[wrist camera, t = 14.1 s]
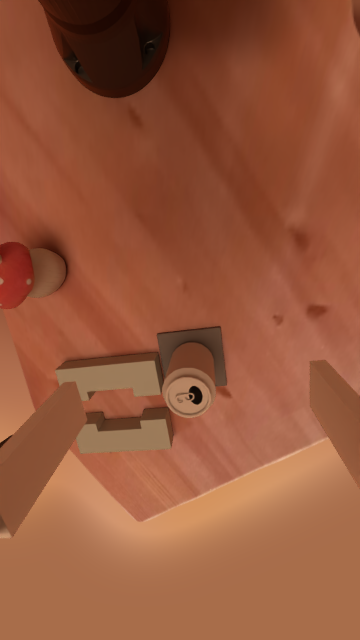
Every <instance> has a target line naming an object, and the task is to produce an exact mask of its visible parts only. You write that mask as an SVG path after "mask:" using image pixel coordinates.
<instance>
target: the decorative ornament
mask: <svg viewBox="0 0 360 640" xmlns="http://www.w3.org/2000/svg"><path fill="white" fill-rule="evenodd" d="M65 276H66V266H65V262H64V260H63V259H62V258H61V257H60V256H59V255H57V254H56V253H54V252H52V251H50V250H47V249H43V248H35V249H30V250H28V248H27V247H25V246H24V245H22V244H20V243H17V242H7V243H4V244H1V245H0V308H2V309H11V308H15V307H17V306H19V305H20V304H21V303H22V302H23V301H24V300H25V298H26V297H27V296H28V297H34V298H40V297H45V296H48V295H50V294H52V293H53V292H55V291H56V290H57V289H58V288H59V287H60V286H61V285H62V283H63V282H64V279H65Z"/></svg>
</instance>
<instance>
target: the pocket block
mask: <svg viewBox="0 0 360 640" xmlns="http://www.w3.org/2000/svg"><path fill="white" fill-rule="evenodd" d="M55 372H56V375H57V378H58V382H59V385H60V386H61V385H62V383H63V382H73V381H76V384H77V388H78V391H79V394H80V397H81V401H87V400H90V399H91V397H92V396H93V395H94V393H95V392H96V391H102V390H113V389H125V388H133V392H134V396H135V397H136V396H149V395H161V392H162V387H163V384H164V382H163V376H162V371H161V366H160V360H159V355H158V352H154V353H144V354H134V355H125V356H115V357H105V358H95V359H85V360H76V361H66V362H64V363H63V364H62V365H61V366H59V367H58V368H57V369H56V370H55ZM85 414H86V417H87V422H86V423H85V425H84V426H83V428H82V429H81V431H80V433H79V434H78V436H77V437H76V441H77V444H78V447H79V450H80V454H83V453H102V452H122V451H141V450H160V449H171V447H172V441H173V430H172V425H171V420H170V414H169V409H168V407H165V408H152V409H144V411H143V414H142V416H141V417H135V418H121V419H106V420H105V418H104V415H103V412H97V413H85Z"/></svg>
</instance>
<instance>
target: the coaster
mask: <svg viewBox="0 0 360 640" xmlns="http://www.w3.org/2000/svg"><path fill="white" fill-rule="evenodd" d="M157 339H158V344H159V350H160V355H161V360H162V366H163V371H164V377H166V374H167V370H168V367H169V364H170V360H171V357H172V354H173V352H174V351H175V349H176V348H178V347H179V346H180V345H182V344H185V343H194V342H195V343H198V344H202V345H203V346H205V347H206V348H208V350H209V351H210V352H211V354H212V356H213V359H214V372H215V386H226V385H227V382H226V373H225V364H224V355H223V346H222V338H221V329H220V327H211V328H202V329H193V330H184V331H175V332H166V333H157Z"/></svg>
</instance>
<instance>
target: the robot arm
mask: <svg viewBox="0 0 360 640" xmlns="http://www.w3.org/2000/svg"><path fill="white" fill-rule="evenodd" d="M38 1H39V2H40V3H41V5H42V6H43V8H44V11H45V14H46V18H47V21H48V24H49V27H50V30H51V33H52V36H53V39H54V42H55V45H56V47H57V50H58V52H59V54H60V56H61V57H62V59H63V61H64V63H65V64H66V65H67V67H68V68H69V69H70V71H71V72H72V73H73V75H74V76H75V77H76V78H77V79H78V81H79V82H80V83H81V84H82V85H84V86H85V87H86V88H87V89H89V90H90V91H92V92H94V93H96V94H98V95H101V96H105V97H111V98H118V97H125V96H128V95H131V94H133V93H135V92H137V91H139V90H140V89H142V88H143V87H144V86H145V85H147V84H148V83H149V82H150V80H151V79H152V78H153V77H154V76H155V74H156V73H157V71H158V69H159V68H160V66H161V64H162V62H163V59H164V57H165V54H166V51H167V47H168V42H169V35H170V15H169V8H168V2H167V0H38ZM310 407H311V409H312V411H313V412H314V414H315V416H316V417H317V419H318V421H319V422H320V424H321V426H322V427H323V429H324V431H325V432H326V434H327V436H328V437H329V439H330V440H331V442H332V444H333V445H334V447H335V449H336V450H337V452H338V454H339V455H340V457H341V459H342V460H343V462H344V463H345V465H346V467H347V469H348V470H349V472H350V474H351V475H352V477H353V479H354V480H355V482H356V484H357V485H358V487H359V489H360V396H359V395H358V394H357V393H356V392H355V391H354V390H353V389H352V388H351V387H350V386H349V384H348V383H347V382H346V381H345V380H344V379H343V378H342V377H341V376H340V375H339V374H338V373H337V372H336V371H335V370H334V369H333V368H332V366H331V365H330V364H329V363H328V362H327V361H326V360H319V361H310ZM86 422H87V417H86V414H85V410H84V407H83V404H82V401H81V397H80V394H79V391H78V388H77V384H76V381H73V382H63V383H62V385H61V386H60V387H59V388H58V389H57V390H56V391H55V392H54V393H53V394H52V395H51V396H50V397H49V398H48V399H47V400H46V401H45V402H44V403H43V404H42V405H41V406H40V407H39V408H38V409H37V411H36V412H35V413H34V414H33V415H32V416H31V417H30V418H29V419H28V420H27V421H26V422H25V423H24V424H23V425H22V426H21V427H20V428H19V429H18V430H17V432H15V433H14V434H13V435H11V436H10V437H8V438H7V439H5V440H4V441H2V442H1V443H0V538H12V537H13V536H14V534H15V533H16V531H17V530H18V528H19V526H20V525H21V523H22V522H23V520H24V519H25V517H26V516H27V514H28V512H29V511H30V509H31V508H32V506H33V505H34V503H35V501H36V500H37V498H38V497H39V495H40V494H41V492H42V490H43V489H44V487H45V486H46V484H47V482H48V481H49V479H50V478H51V476H52V475H53V473H54V472H55V470H56V469H57V467H58V465H59V463H60V462H61V461H62V459H63V458H64V456H65V454H66V453H67V451H68V450H69V448H70V447H71V445H72V443H73V442H74V440H75V439H76V437H77V436H78V434H79V433H80V431H81V429H82V428H83V426H84V425H85V423H86Z"/></svg>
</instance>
